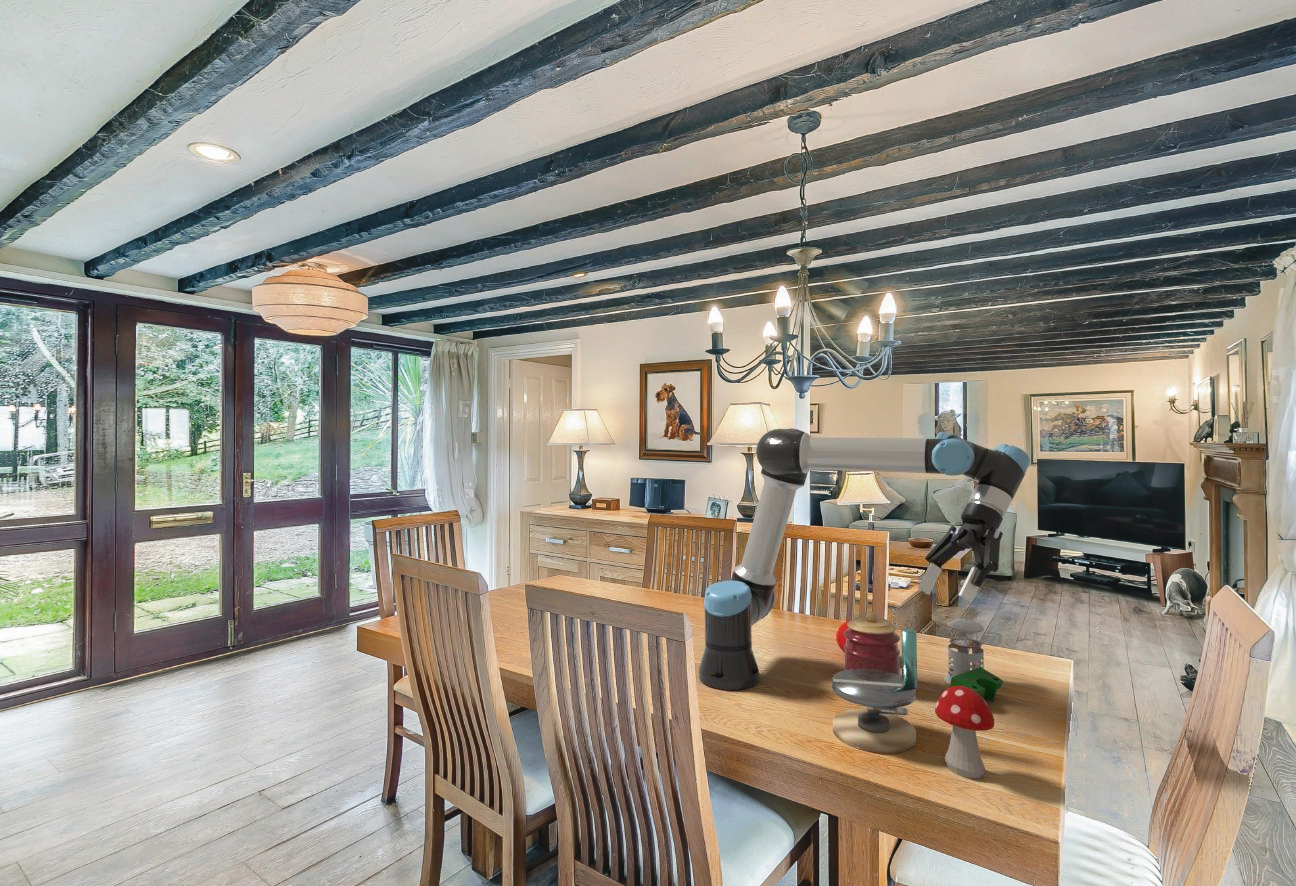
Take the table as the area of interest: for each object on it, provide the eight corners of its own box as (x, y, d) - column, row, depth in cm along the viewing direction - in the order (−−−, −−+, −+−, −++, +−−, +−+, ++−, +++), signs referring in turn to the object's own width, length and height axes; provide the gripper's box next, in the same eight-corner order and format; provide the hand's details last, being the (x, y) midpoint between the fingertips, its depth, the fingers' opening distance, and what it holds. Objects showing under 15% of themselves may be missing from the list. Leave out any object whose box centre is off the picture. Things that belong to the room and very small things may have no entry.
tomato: (885, 668, 160) (884, 628, 160) (835, 663, 164) (835, 624, 164) (883, 651, 173) (882, 614, 173) (837, 647, 177) (836, 610, 177)
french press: (938, 682, 151) (936, 580, 151) (953, 668, 160) (952, 572, 159) (982, 692, 144) (981, 586, 144) (995, 678, 153) (994, 577, 153)
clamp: (972, 725, 137) (971, 696, 134) (948, 709, 142) (946, 681, 139) (1005, 695, 142) (1005, 667, 138) (980, 681, 147) (980, 653, 143)
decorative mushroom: (925, 765, 113) (923, 683, 113) (952, 751, 118) (951, 673, 118) (978, 790, 105) (977, 703, 105) (1005, 775, 109) (1004, 691, 109)
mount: (817, 722, 131) (817, 707, 131) (881, 711, 135) (881, 697, 135) (864, 759, 116) (864, 743, 116) (934, 745, 120) (934, 730, 120)
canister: (871, 697, 143) (870, 622, 143) (833, 678, 155) (832, 608, 154) (912, 688, 148) (911, 614, 148) (873, 669, 160) (872, 602, 160)
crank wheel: (834, 731, 120) (833, 639, 119) (830, 697, 135) (829, 616, 135) (925, 740, 116) (924, 644, 116) (910, 704, 131) (909, 620, 131)
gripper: (1044, 519, 122) (1000, 612, 118) (960, 519, 147) (921, 597, 143) (1015, 498, 122) (969, 591, 118) (935, 502, 146) (895, 579, 142)
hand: (943, 595), depth 130 cm, fingers open, 13 cm apart
